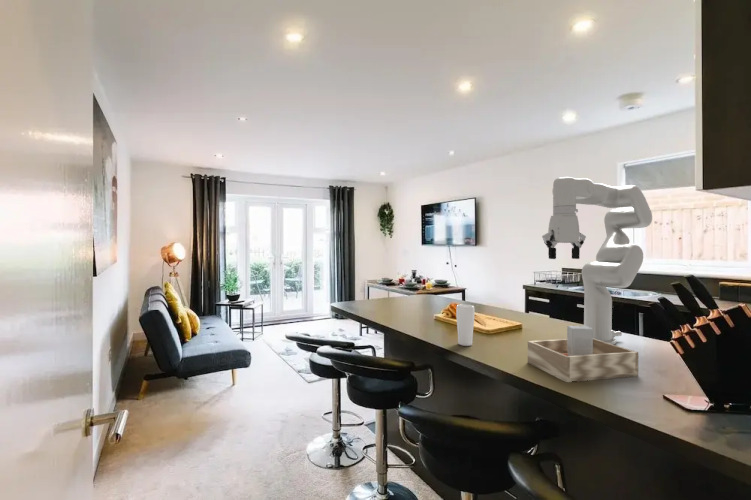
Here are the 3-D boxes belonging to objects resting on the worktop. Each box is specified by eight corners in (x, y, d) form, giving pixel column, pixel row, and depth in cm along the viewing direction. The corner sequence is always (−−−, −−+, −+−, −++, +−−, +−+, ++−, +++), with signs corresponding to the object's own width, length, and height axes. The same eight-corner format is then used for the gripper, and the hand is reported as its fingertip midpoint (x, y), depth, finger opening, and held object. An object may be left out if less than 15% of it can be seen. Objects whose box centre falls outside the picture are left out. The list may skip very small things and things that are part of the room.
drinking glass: (462, 341, 150) (462, 303, 150) (477, 344, 145) (477, 305, 145) (452, 344, 145) (452, 305, 145) (468, 347, 141) (468, 307, 140)
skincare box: (586, 363, 119) (586, 325, 119) (593, 368, 114) (593, 328, 114) (566, 363, 119) (566, 325, 119) (572, 367, 115) (572, 328, 115)
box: (590, 358, 128) (591, 337, 128) (638, 376, 110) (638, 352, 110) (527, 362, 123) (527, 341, 123) (566, 382, 105) (566, 357, 105)
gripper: (577, 213, 143) (577, 258, 143) (536, 212, 140) (536, 258, 140) (592, 211, 136) (592, 259, 136) (550, 210, 132) (549, 259, 133)
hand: (564, 258), depth 138 cm, fingers open, 9 cm apart
